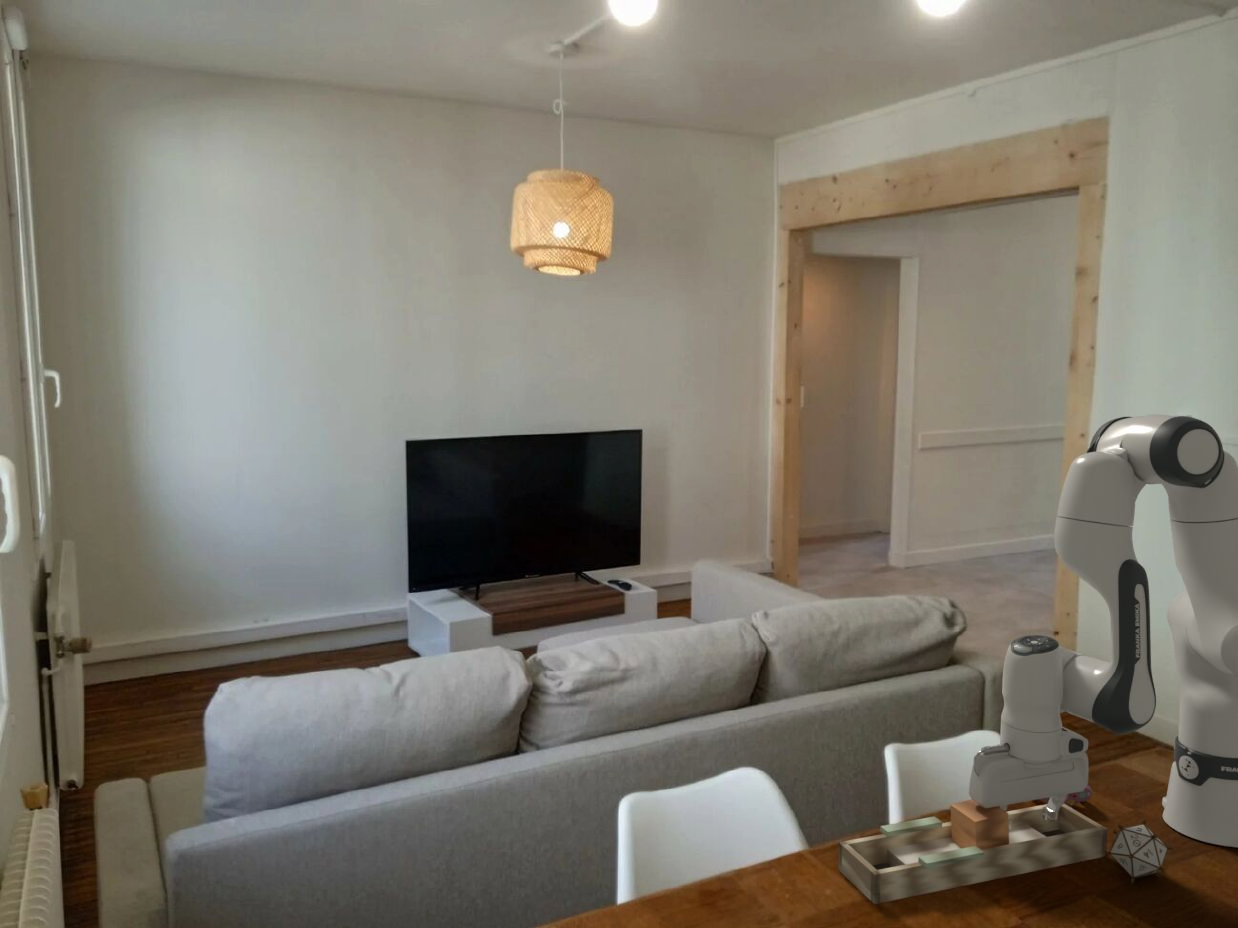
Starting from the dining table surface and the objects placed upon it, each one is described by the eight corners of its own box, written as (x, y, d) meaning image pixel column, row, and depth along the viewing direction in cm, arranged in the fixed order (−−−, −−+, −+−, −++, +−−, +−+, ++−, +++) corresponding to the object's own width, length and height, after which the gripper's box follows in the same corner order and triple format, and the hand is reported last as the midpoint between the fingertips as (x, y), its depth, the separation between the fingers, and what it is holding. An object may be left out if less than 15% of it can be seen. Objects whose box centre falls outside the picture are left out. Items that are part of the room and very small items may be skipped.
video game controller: (1031, 812, 171) (1038, 786, 167) (1024, 791, 175) (1031, 765, 171) (1090, 815, 170) (1098, 789, 166) (1082, 794, 173) (1090, 767, 170)
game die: (1150, 903, 146) (1188, 873, 139) (1094, 879, 147) (1129, 848, 141) (1147, 852, 153) (1183, 820, 146) (1093, 829, 154) (1126, 797, 147)
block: (983, 831, 155) (982, 796, 154) (1009, 849, 149) (1008, 812, 148) (951, 840, 153) (950, 804, 152) (976, 858, 147) (975, 821, 147)
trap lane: (1055, 824, 163) (1056, 794, 163) (1111, 859, 152) (1112, 826, 151) (834, 866, 150) (835, 833, 150) (878, 907, 139) (878, 872, 138)
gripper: (988, 756, 146) (985, 843, 148) (1097, 739, 152) (1093, 823, 154) (961, 740, 152) (958, 824, 154) (1067, 724, 158) (1063, 805, 160)
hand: (1026, 823), depth 154 cm, fingers open, 7 cm apart
